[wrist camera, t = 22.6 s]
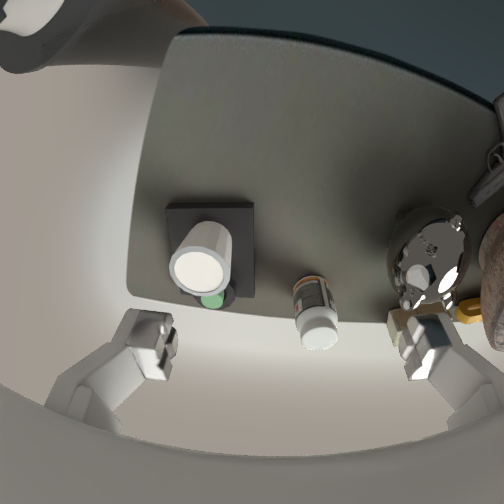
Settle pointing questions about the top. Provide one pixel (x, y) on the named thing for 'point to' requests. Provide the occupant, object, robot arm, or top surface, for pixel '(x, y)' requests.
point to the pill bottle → (315, 313)
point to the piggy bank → (428, 256)
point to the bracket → (469, 311)
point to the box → (400, 318)
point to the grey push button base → (241, 230)
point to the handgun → (500, 171)
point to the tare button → (213, 300)
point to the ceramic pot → (493, 283)
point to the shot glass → (203, 260)
